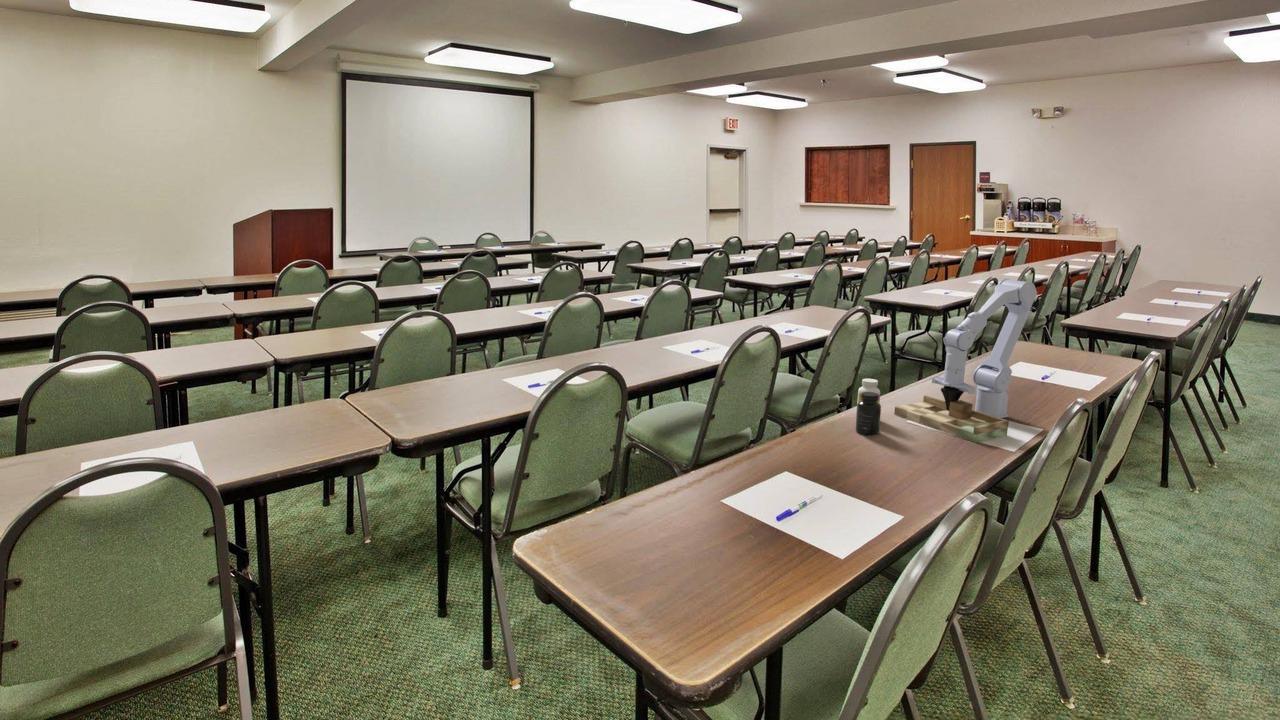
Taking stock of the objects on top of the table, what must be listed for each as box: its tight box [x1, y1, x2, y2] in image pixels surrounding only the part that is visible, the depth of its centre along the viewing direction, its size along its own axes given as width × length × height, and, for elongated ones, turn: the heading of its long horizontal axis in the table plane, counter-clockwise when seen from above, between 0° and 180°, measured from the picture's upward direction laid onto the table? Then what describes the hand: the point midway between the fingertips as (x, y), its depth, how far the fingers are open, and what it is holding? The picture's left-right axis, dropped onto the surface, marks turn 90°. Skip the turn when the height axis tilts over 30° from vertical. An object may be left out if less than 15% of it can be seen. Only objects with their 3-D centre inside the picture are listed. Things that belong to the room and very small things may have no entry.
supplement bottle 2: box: [855, 392, 882, 436], centre depth 211 cm, size 7×7×12 cm
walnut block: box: [949, 399, 973, 420], centre depth 218 cm, size 4×4×4 cm
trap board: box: [893, 395, 1010, 444], centre depth 219 cm, size 14×30×4 cm, turn 28°
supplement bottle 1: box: [856, 378, 881, 414], centre depth 222 cm, size 7×7×13 cm
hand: (950, 410), depth 222 cm, fingers closed
